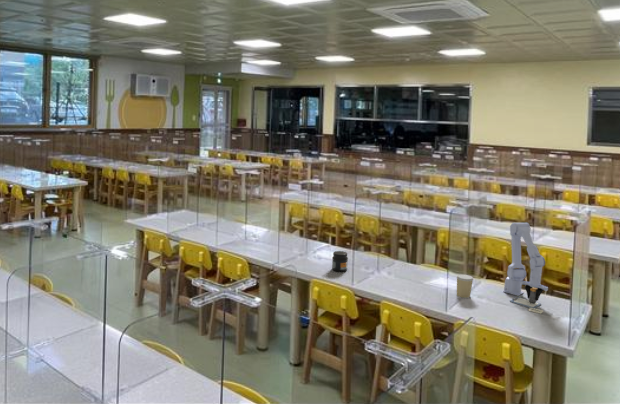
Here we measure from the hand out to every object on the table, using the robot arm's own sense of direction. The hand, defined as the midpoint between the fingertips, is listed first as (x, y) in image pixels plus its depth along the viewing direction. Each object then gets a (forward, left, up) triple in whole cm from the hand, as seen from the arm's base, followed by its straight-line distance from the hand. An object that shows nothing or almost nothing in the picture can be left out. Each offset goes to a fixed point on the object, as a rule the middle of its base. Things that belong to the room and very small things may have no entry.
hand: (532, 299), depth 305 cm
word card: (+6, -9, -3) cm, 11 cm away
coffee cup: (-33, -20, -3) cm, 39 cm away
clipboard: (-3, -2, -3) cm, 5 cm away
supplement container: (-114, -42, -3) cm, 121 cm away
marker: (0, 0, -2) cm, 2 cm away
